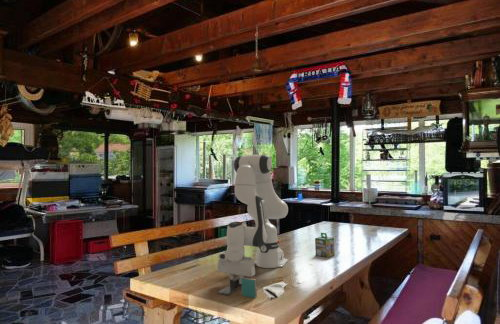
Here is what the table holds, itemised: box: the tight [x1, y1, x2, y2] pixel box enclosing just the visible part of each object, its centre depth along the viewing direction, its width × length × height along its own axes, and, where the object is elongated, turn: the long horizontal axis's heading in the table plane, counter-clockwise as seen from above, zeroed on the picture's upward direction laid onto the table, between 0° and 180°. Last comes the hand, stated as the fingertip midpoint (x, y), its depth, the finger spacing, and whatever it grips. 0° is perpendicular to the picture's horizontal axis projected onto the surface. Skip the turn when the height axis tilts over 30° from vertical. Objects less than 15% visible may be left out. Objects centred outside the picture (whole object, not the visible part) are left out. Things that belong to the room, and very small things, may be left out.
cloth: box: [262, 281, 288, 301], centre depth 169 cm, size 26×14×2 cm, turn 150°
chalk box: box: [314, 232, 336, 258], centre depth 232 cm, size 9×9×15 cm
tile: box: [241, 277, 258, 299], centre depth 162 cm, size 2×7×8 cm, turn 60°
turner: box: [217, 275, 248, 296], centre depth 173 cm, size 20×6×4 cm, turn 150°
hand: (236, 283), depth 175 cm, fingers closed on turner, 2 cm apart
